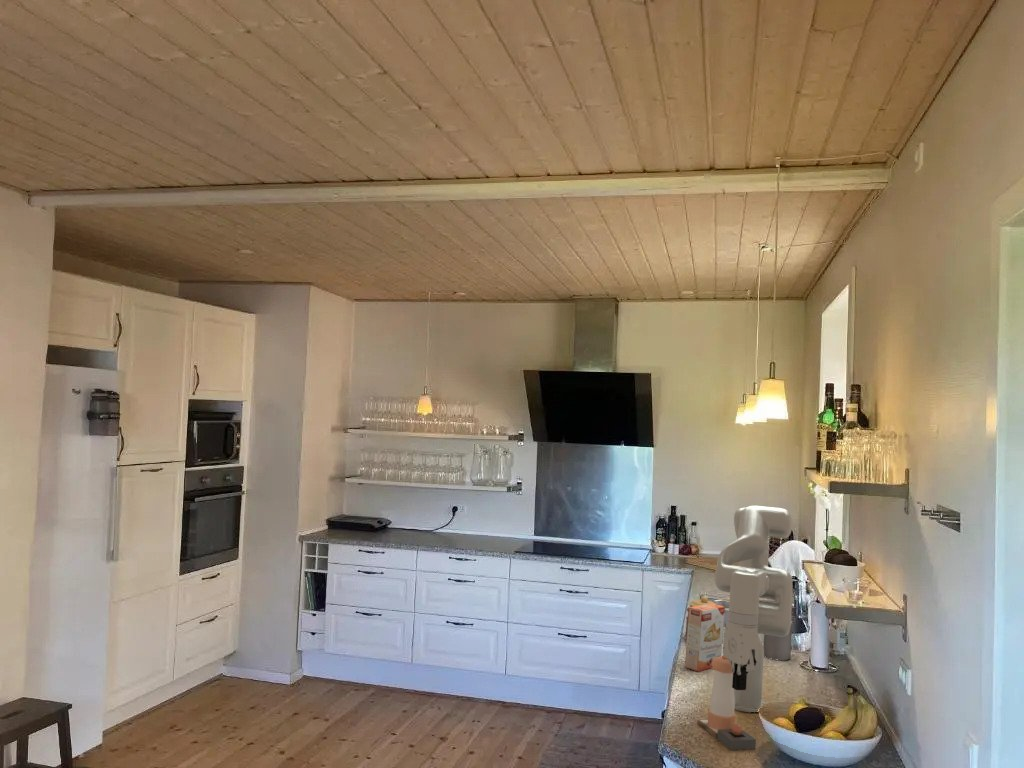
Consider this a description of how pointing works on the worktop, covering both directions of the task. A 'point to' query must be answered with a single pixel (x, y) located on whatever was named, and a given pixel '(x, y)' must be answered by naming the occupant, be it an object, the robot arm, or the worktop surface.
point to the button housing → (736, 740)
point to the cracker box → (704, 636)
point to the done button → (736, 729)
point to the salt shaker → (722, 695)
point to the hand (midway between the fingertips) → (739, 688)
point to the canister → (695, 603)
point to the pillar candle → (778, 646)
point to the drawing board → (708, 727)
